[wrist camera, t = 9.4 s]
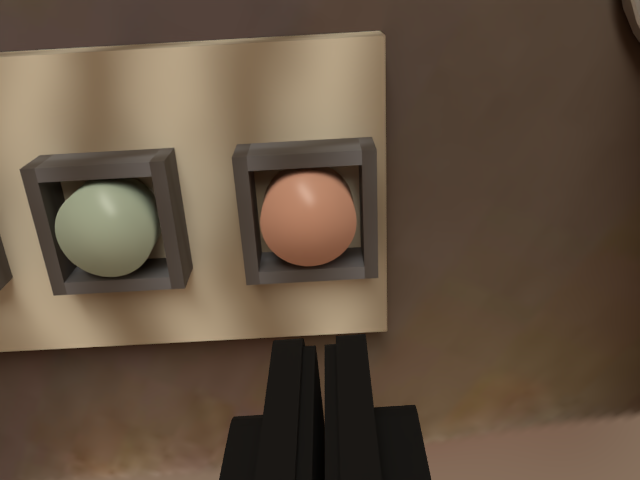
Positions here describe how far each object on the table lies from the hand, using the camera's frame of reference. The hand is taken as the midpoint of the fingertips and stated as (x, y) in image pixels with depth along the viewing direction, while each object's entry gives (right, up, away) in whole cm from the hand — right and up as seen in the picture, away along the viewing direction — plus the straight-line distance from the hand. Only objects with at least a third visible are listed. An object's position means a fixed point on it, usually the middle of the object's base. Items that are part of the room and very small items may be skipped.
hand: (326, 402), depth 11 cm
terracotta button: (-1, +4, +16) cm, 16 cm away
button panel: (-9, +5, +18) cm, 21 cm away
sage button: (-9, +4, +16) cm, 19 cm away
